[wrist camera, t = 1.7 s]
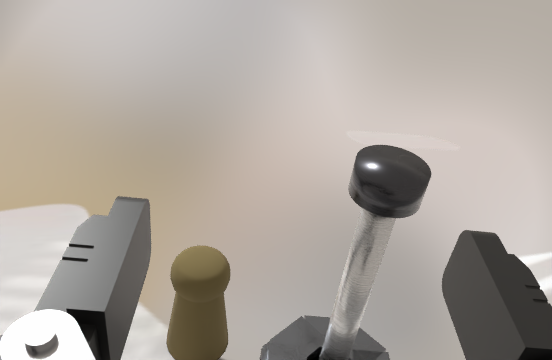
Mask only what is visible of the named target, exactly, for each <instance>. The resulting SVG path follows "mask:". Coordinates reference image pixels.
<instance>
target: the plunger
mask: <svg viewBox="0 0 552 360" xmlns="http://www.w3.org/2000/svg"><path fill="white" fill-rule="evenodd" d="M430 177H431V171H430V168H429V166H428V165H427V163H426V162H425V161H424V160H422V159H421V158H420V157H418V156H417V155H415V154H413V153H411V152H409V151H407V150H404V149H402V148H398V147H394V146H388V145H373V146H368V147H365V148H363V149H362V150H360V151H359V152H358V153H357V156H356V160H355V164H354V168H353V172H352V176H351V179H350V183H349V194H350V196H351V198H352V199H353V200H354V201H355V203H357V204H358V205H359V206H360V207H362V208H361V212H360V215H359V219H358V222H357V226H356V229H355V233H354V237H353V240H352V244H351V247H350V251H349V254H348V258H347V261H346V265H345V269H344V272H343V276H342V279H341V283H340V286H339V290H338V293H337V297H336V301H335V305H334V308H333V311H332V315H331V318H330V322H329V325H328V329H327V333H326V336H325V340H324V343H323V347H322V350H321V354H320V358H319V360H348V359H349V356H350V353H351V350H352V347H353V344H354V341H355V338H356V335H357V332H358V329H359V326H360V323H361V320H362V317H363V314H364V311H365V309H366V305H367V302H368V299H369V297H370V293H371V290H372V288H373V285H374V282H375V279H376V276H377V273H378V270H379V267H380V264H381V261H382V258H383V255H384V252H385V249H386V246H387V243H388V240H389V237H390V234H391V231H392V228H393V225H394V222H395V219H396V218H404V217H408V216H411V215H413V214H414V213H416V212H417V211H418V209H419V207H420V205H421V202H422V199H423V197H424V194H425V191H426V188H427V186H428V183H429V180H430Z"/></svg>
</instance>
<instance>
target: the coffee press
mask: <svg viewBox="0 0 552 360" xmlns="http://www.w3.org/2000/svg"><path fill="white" fill-rule="evenodd" d="M329 322H330V318H328V317H316V316H304V318H303V317H302V316H301V317H300V318H299V319H297V320H296V321H295V322H293V323H292V324H291V325H289V326H288V327H287V328H285V329H284V330H283V331H281V332H280V333H279V334H277V335H276V336H275V337H273V338H272V339H271V340H270V341H269V342H268V343H267V344H265V345H264V346H263V348H262V349H261V356H260V360H319V358H320V354H321V350H322V347H323V343H324V340H325V336H326V333H327V329H328V325H329ZM385 351H386V349H385V348H384V347H382V345H380V344H379V343H378V342H377V341H375V340H374V339H373V338H372V337H370V336H369V335H368V334H367V333H366V332H364V331H363V330H362V329H361V328H359V329H358V332H357V335H356V338H355V341H354V344H353V347H352V350H351V353H350V356H349V359H348V360H390V359H389V354H388V352H385Z"/></svg>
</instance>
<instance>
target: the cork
mask: <svg viewBox="0 0 552 360" xmlns="http://www.w3.org/2000/svg"><path fill="white" fill-rule="evenodd" d="M229 280H230V266H229V263H228V261H227V259H226V257H225V256H224V255H223V254H222V253H221V252H220V251H218V250H217V249H215V248H212V247H208V246H194V247H190V248H188V249H186V250H184V251H182V252H181V253H180V254H179V255H178V256H177V257H176V259H175V260H174V262H173V264H172V267H171V281H172V284H173V287H174V290H175V291H176V294H175V299H174V304H173V309H172V314H171V319H170V324H169V329H168V334H167V343H166V344H167V347H168V351H169V352H170V354H171V355H172V356H173V358H174V359H176V360H217V359H219V358H220V357H221V356H222V354H223V353H224V352H225V350H226V347H227V345H228V332H227V321H226V311H225V302H224V291H225V290H226V288H227V285H228V283H229Z"/></svg>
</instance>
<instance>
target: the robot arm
mask: <svg viewBox="0 0 552 360" xmlns="http://www.w3.org/2000/svg"><path fill="white" fill-rule="evenodd" d="M150 254H151V229H150V204H149V200H148V199H142V198H131V197H120V196H118V197H117V198H116V199H115V202H114V204H113V206H112V208H111V210H110V212H109V215H108V216H102V215H92V216H91V217H90V218H89V219H87V220H86V221H85V222H84V223H83V224H81V225H80V226H79V227H78V228H77V230H76V231H75V233H74V235H73V237H72V239H71V241H70V243H69V247H67V249H66V251H65V253H64V255H63V258H62V260H60V262H59V264H58V266H57V268H56V270H55V272H54V274H53V276H52V278H51V280H50V282H49V284H48V286H47V288H46V289H45V291H44V293H43V295H42V297H41V299H40V301H39V303H38V305H37V307H36V309H35V310H34V312H33V313H31V314H28V315H26V316H24V317H22V318H21V319H19V320H17V321H16V322H15V323H14V324H12V325H11V326H10V327H9V328H8V329H7V331H6V332H5V334H3V335H1V336H0V360H120V359H121V356H122V353H123V349H124V346H125V343H126V340H127V336H128V333H129V330H130V326H131V323H132V320H133V317H134V313H135V310H136V307H137V303H138V300H139V297H140V294H141V290H142V287H143V284H144V280H145V277H146V274H147V270H148V267H149V262H150ZM442 291H443V296H444V299H445V302H446V304H447V307H448V310H449V313H450V316H451V319H452V321H453V324H454V327H455V330H456V333H457V335H458V338H459V341H460V343H461V347H462V349H463V352H464V355H465V358H466V360H552V306H551V305H550V304H548V302H547V301H548V300H547V298H546V296H545V294H544V293H543V291H542V290H540V286H539V284H538V282H537V280H536V279H535V277H534V275H533V274H532V272H531V270H530V269H529V268H528V267H527V266H526V265H525V264H524V263H523V262H522V261H520V260H519V259H518V258H517V257H516V256H515V255H514V254H508V253H507V252H506V250H505V248H504V246H503V244H502V242H501V241H500V239H499V237H498V236H497V235H496V234H495V233H490V232H479V231H469V230H465V231H463V232H462V233H461V234H460V236H459V238H458V241H457V243H456V245H455V248H454V250H453V252H452V255H451V257H450V259H449V262H448V264H447V266H446V268H445V271H444V274H443V278H442Z"/></svg>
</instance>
